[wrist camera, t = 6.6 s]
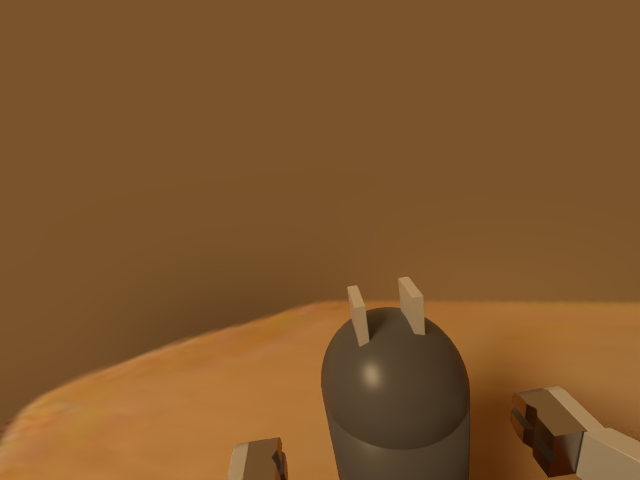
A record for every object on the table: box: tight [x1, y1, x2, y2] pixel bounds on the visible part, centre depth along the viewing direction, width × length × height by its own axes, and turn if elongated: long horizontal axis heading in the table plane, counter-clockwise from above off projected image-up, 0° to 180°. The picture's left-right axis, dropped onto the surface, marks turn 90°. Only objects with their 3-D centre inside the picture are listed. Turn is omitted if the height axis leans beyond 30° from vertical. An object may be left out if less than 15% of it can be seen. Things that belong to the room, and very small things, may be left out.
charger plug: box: [321, 277, 470, 480], centre depth 11 cm, size 5×5×12 cm
